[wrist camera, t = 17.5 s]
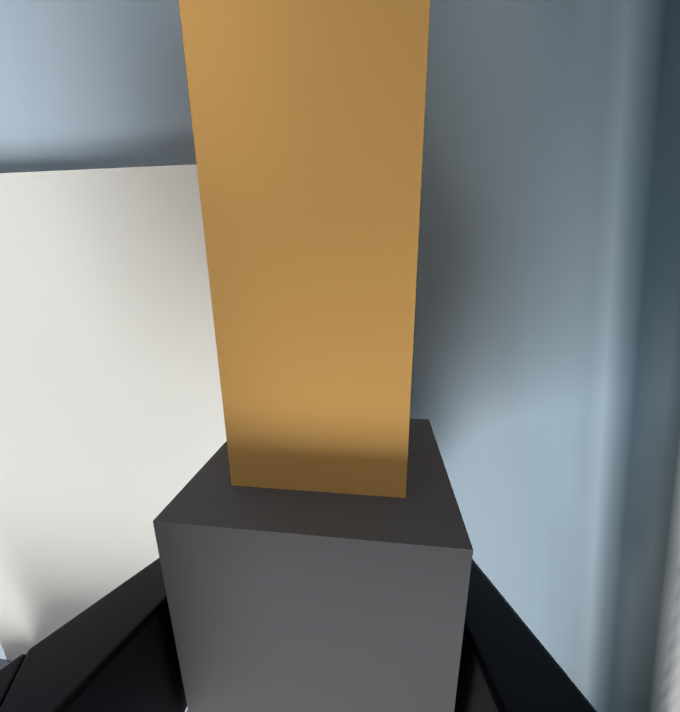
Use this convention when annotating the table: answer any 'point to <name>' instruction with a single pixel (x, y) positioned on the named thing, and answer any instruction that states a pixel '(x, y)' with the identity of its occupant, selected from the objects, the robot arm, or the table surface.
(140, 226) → the mount plate
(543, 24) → the table surface
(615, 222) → the table surface
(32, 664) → the robot arm
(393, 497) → the plug
